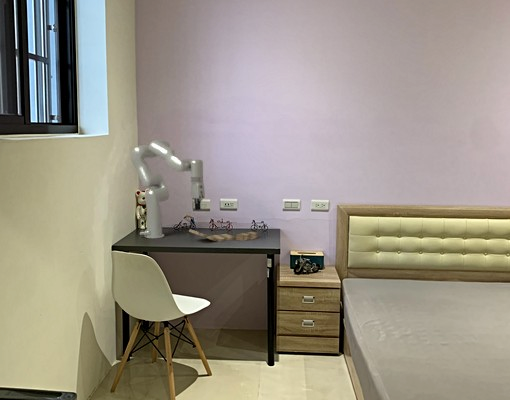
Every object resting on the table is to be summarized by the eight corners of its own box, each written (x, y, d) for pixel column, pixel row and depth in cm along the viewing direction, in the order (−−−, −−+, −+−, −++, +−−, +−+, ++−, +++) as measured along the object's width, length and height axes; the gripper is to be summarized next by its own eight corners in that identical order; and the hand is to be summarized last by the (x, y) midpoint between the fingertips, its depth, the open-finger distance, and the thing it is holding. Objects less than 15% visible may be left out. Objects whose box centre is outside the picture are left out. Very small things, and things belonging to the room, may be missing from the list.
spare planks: (242, 240, 360) (242, 235, 359) (235, 239, 364) (235, 234, 364) (259, 237, 370) (259, 233, 370) (252, 236, 375) (252, 231, 374)
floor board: (217, 241, 357) (217, 239, 356) (207, 238, 366) (207, 236, 366) (236, 239, 364) (236, 236, 364) (226, 236, 374) (226, 233, 374)
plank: (198, 234, 348) (198, 232, 348) (188, 231, 358) (189, 229, 358) (216, 241, 356) (217, 239, 356) (206, 238, 366) (207, 235, 366)
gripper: (208, 180, 346) (209, 210, 348) (196, 178, 358) (197, 207, 361) (197, 181, 342) (198, 211, 344) (185, 179, 354) (186, 208, 356)
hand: (197, 209), depth 352 cm, fingers closed
